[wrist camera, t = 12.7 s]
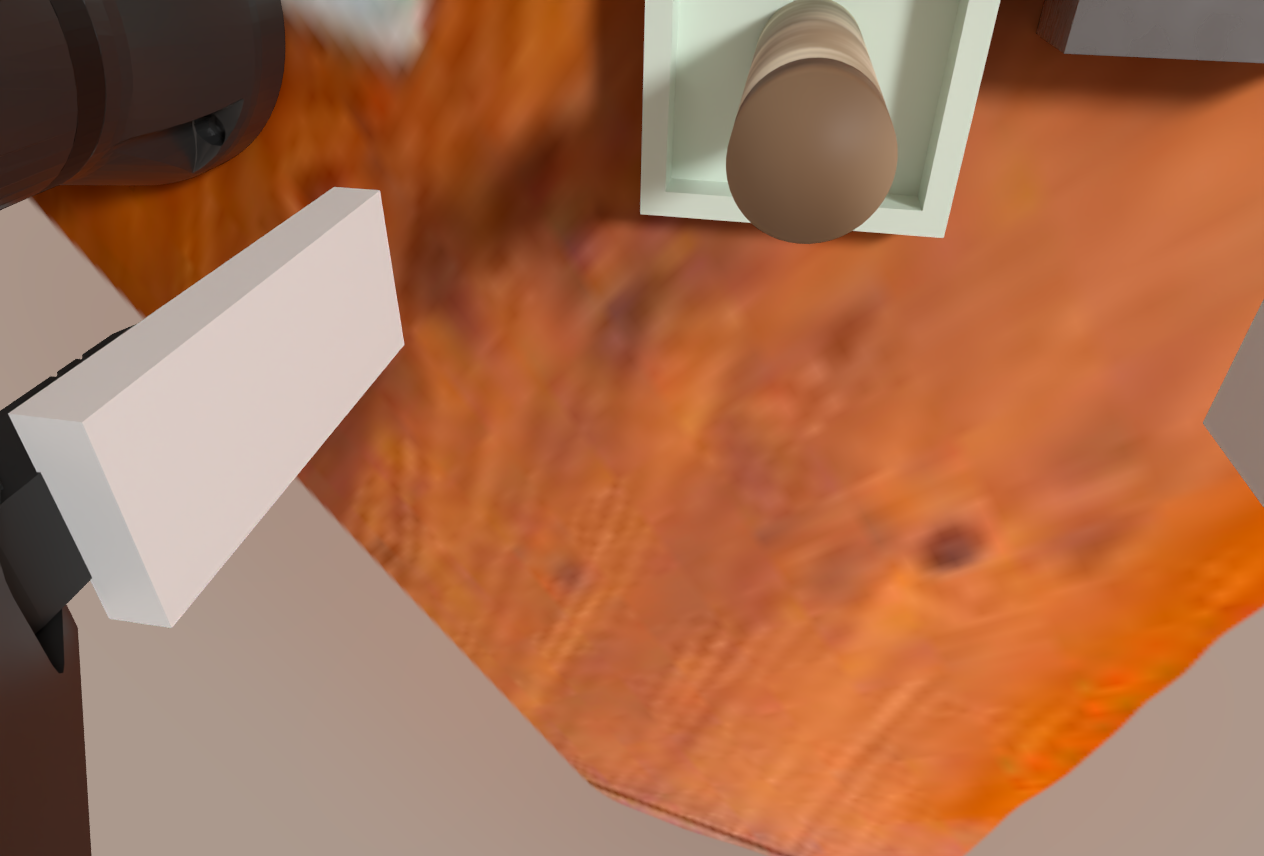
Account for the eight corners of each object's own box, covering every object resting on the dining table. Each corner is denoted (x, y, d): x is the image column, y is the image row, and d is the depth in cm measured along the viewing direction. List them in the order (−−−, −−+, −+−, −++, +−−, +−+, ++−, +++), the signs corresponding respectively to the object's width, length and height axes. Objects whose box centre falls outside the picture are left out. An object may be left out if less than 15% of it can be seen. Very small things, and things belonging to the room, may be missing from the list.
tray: (649, 195, 36) (640, 213, 34) (659, -142, 29) (648, -143, 27) (935, 216, 34) (943, 238, 32) (1016, -135, 27) (1032, -135, 25)
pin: (750, 108, 32) (719, 237, 21) (760, -6, 30) (733, 68, 19) (853, 114, 32) (880, 249, 21) (872, -1, 30) (914, 78, 18)
